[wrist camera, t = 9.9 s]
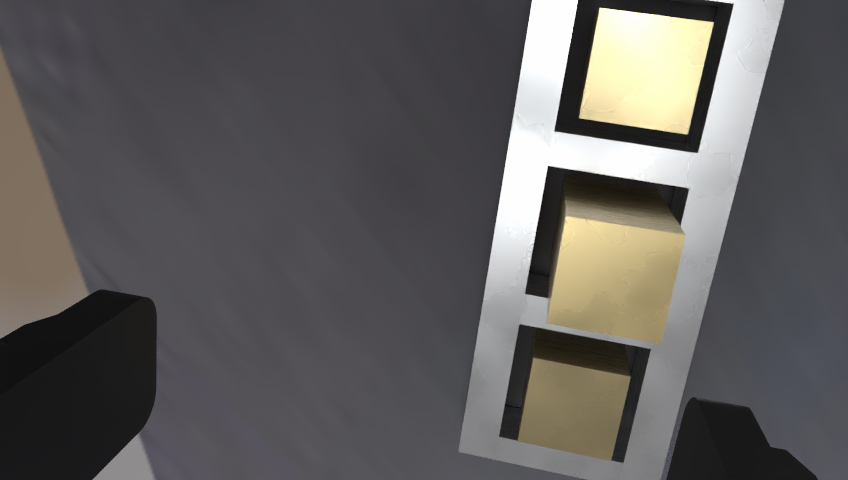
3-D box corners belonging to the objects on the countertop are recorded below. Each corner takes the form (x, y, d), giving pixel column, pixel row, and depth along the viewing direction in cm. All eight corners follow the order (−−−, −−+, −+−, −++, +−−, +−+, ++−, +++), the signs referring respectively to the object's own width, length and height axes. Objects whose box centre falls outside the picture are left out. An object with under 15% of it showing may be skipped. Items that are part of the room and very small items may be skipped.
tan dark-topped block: (564, 174, 33) (565, 216, 25) (656, 188, 32) (685, 234, 24) (549, 259, 34) (546, 323, 26) (638, 273, 33) (660, 343, 26)
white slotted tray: (543, -47, 30) (540, -60, 26) (768, -20, 29) (803, -29, 25) (466, 419, 37) (454, 468, 32) (648, 457, 35) (660, 513, 31)
